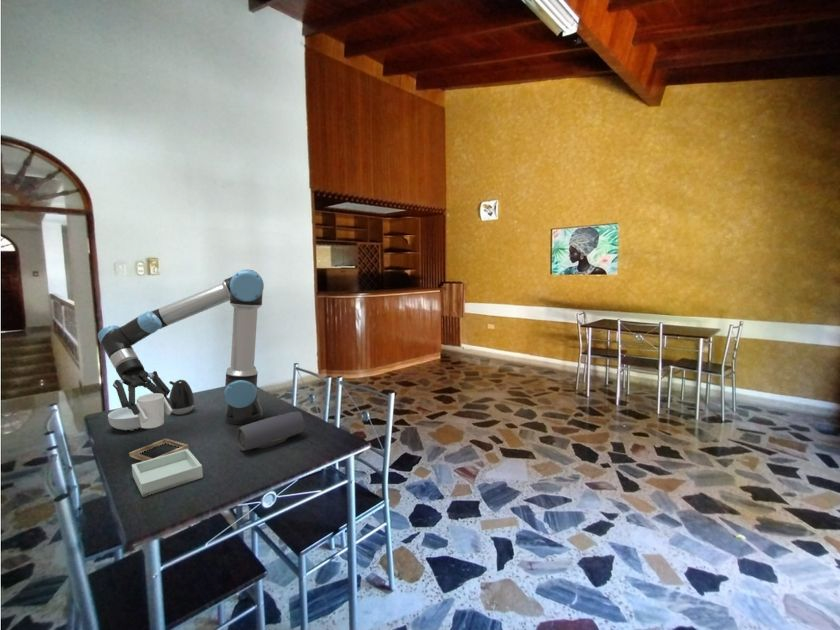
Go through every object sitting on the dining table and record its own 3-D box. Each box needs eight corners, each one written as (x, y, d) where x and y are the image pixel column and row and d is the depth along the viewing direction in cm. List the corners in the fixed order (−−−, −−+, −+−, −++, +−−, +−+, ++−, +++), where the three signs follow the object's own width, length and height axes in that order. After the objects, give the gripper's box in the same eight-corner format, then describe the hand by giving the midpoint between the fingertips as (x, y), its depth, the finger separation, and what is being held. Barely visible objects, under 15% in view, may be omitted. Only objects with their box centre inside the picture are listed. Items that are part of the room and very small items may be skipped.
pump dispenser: (180, 407, 191) (177, 376, 189) (200, 409, 190) (198, 377, 188) (163, 416, 181) (160, 382, 179) (185, 417, 180) (182, 383, 178)
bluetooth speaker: (294, 431, 165) (293, 407, 164) (305, 438, 158) (305, 413, 157) (236, 449, 149) (234, 422, 148) (247, 457, 142) (245, 430, 141)
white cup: (168, 424, 142) (166, 397, 140) (141, 431, 136) (139, 402, 135) (162, 418, 147) (160, 391, 146) (136, 424, 142) (133, 396, 140)
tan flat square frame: (166, 442, 155) (165, 438, 155) (188, 448, 149) (188, 444, 149) (129, 456, 143) (129, 452, 143) (152, 464, 138) (151, 460, 137)
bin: (188, 459, 141) (187, 448, 140) (202, 477, 129) (202, 465, 129) (132, 476, 130) (131, 464, 129) (142, 497, 118) (141, 484, 118)
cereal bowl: (103, 438, 158) (101, 420, 157) (115, 422, 173) (114, 406, 172) (155, 431, 165) (153, 414, 164) (162, 416, 180) (161, 401, 179)
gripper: (153, 364, 155) (182, 412, 150) (90, 377, 137) (120, 433, 132) (160, 352, 152) (190, 401, 147) (97, 364, 134) (128, 421, 129)
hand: (157, 416), depth 140 cm, fingers closed on white cup, 8 cm apart
